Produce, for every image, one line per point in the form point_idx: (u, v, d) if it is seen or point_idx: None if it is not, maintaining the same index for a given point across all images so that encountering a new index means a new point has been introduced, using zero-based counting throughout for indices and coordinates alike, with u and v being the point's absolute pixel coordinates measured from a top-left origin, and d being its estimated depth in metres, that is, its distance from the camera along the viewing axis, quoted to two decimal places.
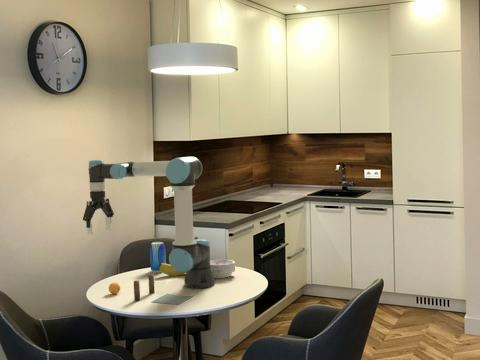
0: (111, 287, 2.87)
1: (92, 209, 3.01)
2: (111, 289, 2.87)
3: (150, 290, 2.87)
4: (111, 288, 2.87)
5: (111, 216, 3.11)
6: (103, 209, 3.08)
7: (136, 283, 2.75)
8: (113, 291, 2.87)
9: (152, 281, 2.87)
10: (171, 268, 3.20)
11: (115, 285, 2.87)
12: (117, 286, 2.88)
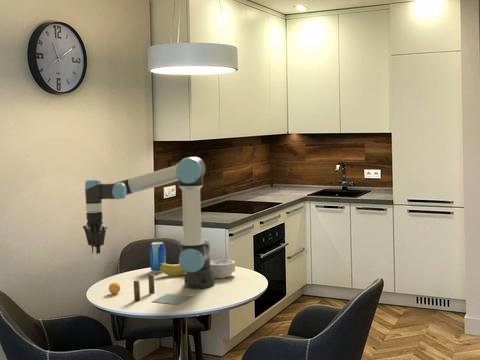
0: (111, 287, 2.87)
1: None
2: (111, 289, 2.87)
3: (150, 290, 2.87)
4: (111, 288, 2.87)
5: (95, 246, 2.90)
6: None
7: (136, 283, 2.75)
8: (113, 291, 2.87)
9: (152, 281, 2.87)
10: (171, 268, 3.20)
11: (115, 285, 2.87)
12: (117, 286, 2.88)
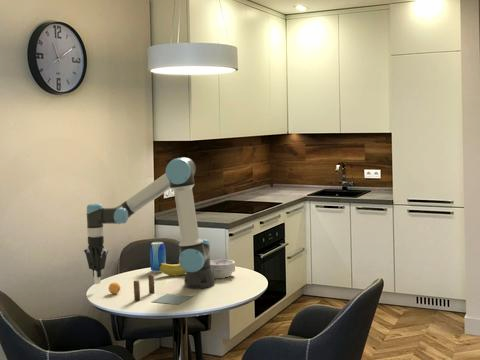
0: (111, 287, 2.87)
1: None
2: (111, 289, 2.87)
3: (150, 290, 2.87)
4: (111, 288, 2.87)
5: (96, 270, 2.91)
6: None
7: (136, 283, 2.75)
8: (113, 291, 2.87)
9: (152, 281, 2.87)
10: (171, 268, 3.20)
11: (115, 285, 2.87)
12: (117, 286, 2.88)
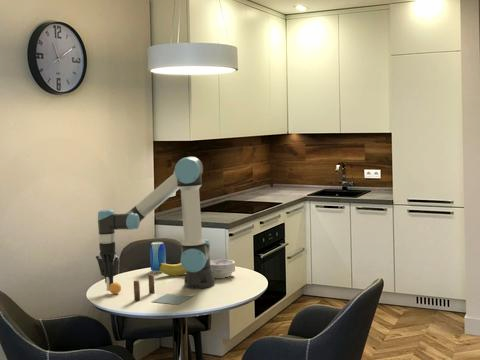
0: (112, 287, 2.87)
1: None
2: (112, 289, 2.87)
3: (150, 290, 2.87)
4: (112, 288, 2.87)
5: (108, 276, 2.88)
6: None
7: (136, 283, 2.75)
8: (114, 291, 2.87)
9: (152, 281, 2.87)
10: (171, 268, 3.20)
11: (116, 285, 2.87)
12: (118, 286, 2.88)
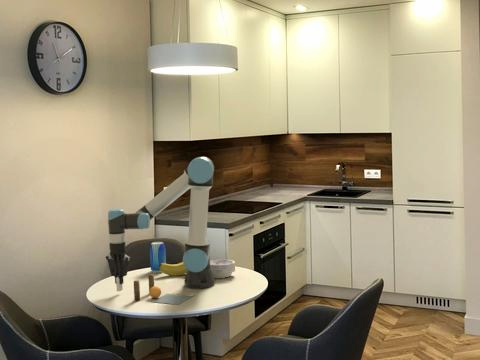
0: (154, 294, 2.77)
1: None
2: (152, 294, 2.77)
3: None
4: (153, 294, 2.77)
5: (118, 276, 2.86)
6: None
7: (136, 283, 2.75)
8: (150, 295, 2.78)
9: (152, 281, 2.87)
10: (171, 268, 3.20)
11: (157, 296, 2.78)
12: (156, 297, 2.79)
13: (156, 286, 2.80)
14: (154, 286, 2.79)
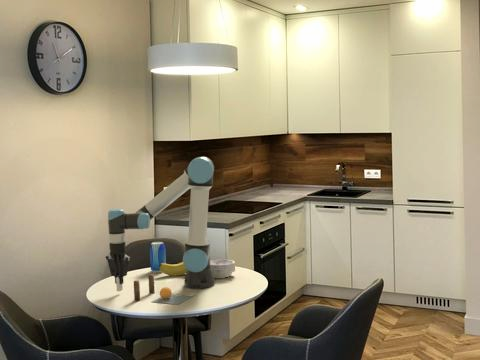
0: (161, 295, 2.76)
1: None
2: (162, 294, 2.75)
3: (150, 290, 2.87)
4: (161, 295, 2.75)
5: (118, 276, 2.86)
6: None
7: (136, 283, 2.75)
8: (162, 291, 2.76)
9: (152, 281, 2.87)
10: (171, 268, 3.20)
11: (160, 294, 2.77)
12: None
13: (169, 297, 2.77)
14: (170, 296, 2.76)
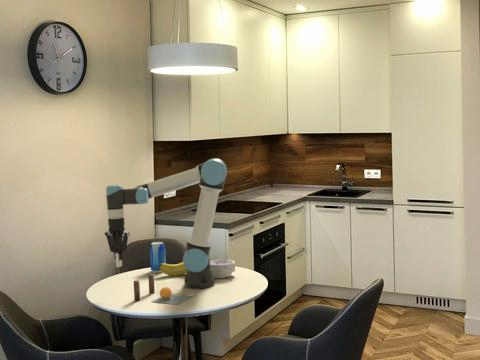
0: (161, 295, 2.76)
1: None
2: (162, 294, 2.75)
3: (150, 290, 2.87)
4: (161, 295, 2.75)
5: (117, 252, 2.85)
6: None
7: (136, 283, 2.75)
8: (162, 291, 2.76)
9: (152, 281, 2.87)
10: (171, 268, 3.20)
11: (160, 294, 2.77)
12: None
13: (169, 297, 2.77)
14: (170, 296, 2.76)
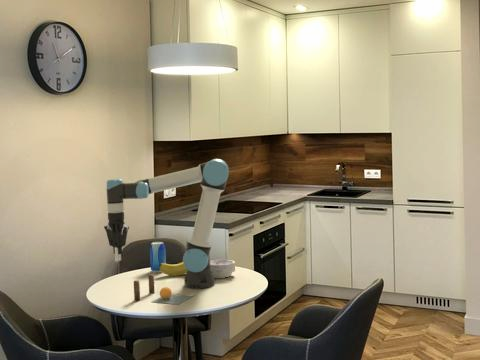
0: (161, 295, 2.76)
1: None
2: (162, 294, 2.75)
3: (150, 290, 2.87)
4: (161, 295, 2.75)
5: (117, 246, 2.85)
6: None
7: (136, 283, 2.75)
8: (162, 291, 2.76)
9: (152, 281, 2.87)
10: (171, 268, 3.20)
11: (160, 294, 2.77)
12: None
13: (169, 297, 2.77)
14: (170, 296, 2.76)
